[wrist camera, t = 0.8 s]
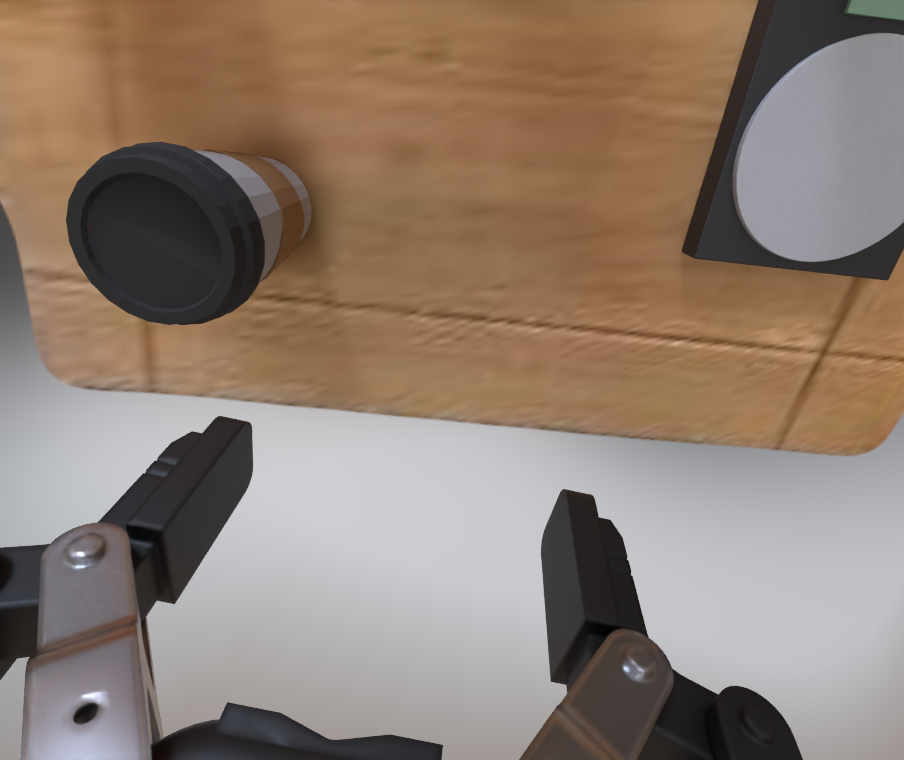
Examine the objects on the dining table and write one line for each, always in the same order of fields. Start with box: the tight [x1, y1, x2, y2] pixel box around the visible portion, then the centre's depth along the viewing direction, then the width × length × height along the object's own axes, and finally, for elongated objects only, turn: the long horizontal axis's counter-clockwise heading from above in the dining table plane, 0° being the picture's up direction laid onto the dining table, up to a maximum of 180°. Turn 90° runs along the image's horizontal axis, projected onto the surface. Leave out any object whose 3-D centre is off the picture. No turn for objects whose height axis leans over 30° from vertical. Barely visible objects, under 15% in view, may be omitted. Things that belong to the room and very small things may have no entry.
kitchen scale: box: [682, 0, 904, 280], centre depth 32 cm, size 16×14×3 cm
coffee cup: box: [66, 142, 312, 325], centre depth 29 cm, size 8×8×15 cm
